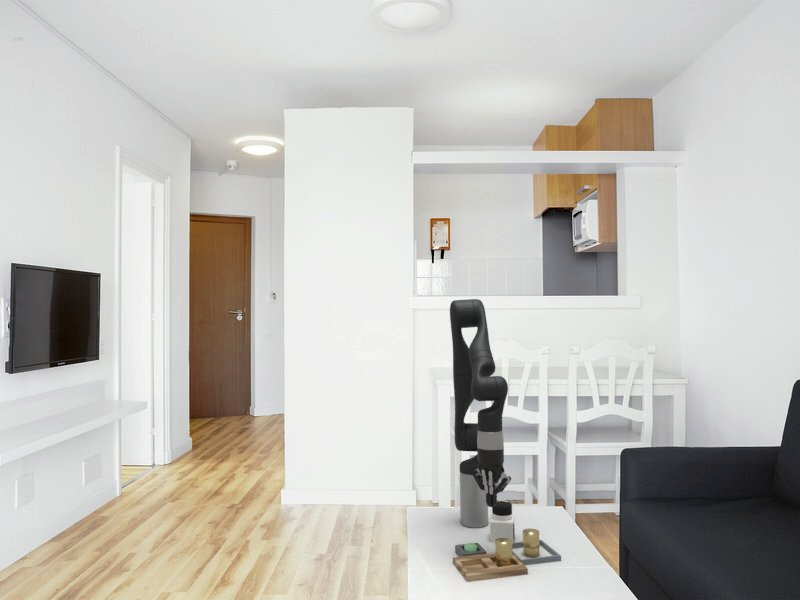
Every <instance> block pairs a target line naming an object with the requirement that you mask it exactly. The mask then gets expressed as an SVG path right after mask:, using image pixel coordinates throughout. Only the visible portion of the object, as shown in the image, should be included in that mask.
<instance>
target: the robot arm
mask: <svg viewBox="0 0 800 600" xmlns="http://www.w3.org/2000/svg"><path fill="white" fill-rule="evenodd" d="M449 306H450V307H449V320H450V329H451V331H450V332H451V340H452V378H453V379H452V380H453V393H454V395H453V397H454V445H455V446H454V447H455V448H456V450H457V451H459V452H477V453H476V454H475V456H473V457H471V458H468V459H465V460H463V461H461V462H460V463H459V502H460V503H459V504H460V505H459V507H460V511H459V512H460V524H461V525H463V526H464V527H468V528H473V529H474V528H475V529H476V528H483V527H486V526H487V525H489V508H492V507H494V506H496V504H497V501H498V494H499V493H502V492H503V491H505V489H506V488H507V486H508V485H509V483H510V482H511V480H512V477H511V475H509V476H508V475H507V474H506V473H505V468H504V462H505V448H504V444H505V443H504V440H505V439H504V432H503V415H504V408H505V403H506V400H507V396H508V391H509V385H508V382H507V380H506V378H505V377H503V376H501V375H494V373H495V372H496V363H495V361H494V357H493V353H492V349H491V345H490V339H489V331H488V330H489V327H488V321H487V315H486V308H485V306H484V304H483V301H482V300H481V299H478V298H471V299H457V300H456V299H455V300H452V301H451V302H450V305H449ZM467 328H468V329H469V328H477V329H476V333H475V336H474V337H473V338H472V340H471V342H470V345H469V346H468V344H467V343H466V340H465V338H464V336H463V330H462V329H467ZM493 375H494V376H493ZM474 400H476V401H478V402H493V403H492V404H491V406H489V407H486V408H482V409H480V410H479V411H478V412H477V423H475V422H474V423H473V422H465V418H466V415H467V412H468V410H469V408H470V406H471V405H472V403H473V402H474Z"/></svg>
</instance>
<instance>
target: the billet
mask: <svg viewBox="0 0 800 600" xmlns="http://www.w3.org/2000/svg"><path fill="white" fill-rule="evenodd" d="M539 540H540V531H539V530H538V529H535V528H525V529H523V530H522V542H523V547H522V551H523V552H522V554H523V556H524V557H526V558H528V559H529V558H537V557H541V555H540V553H541V551H540V547H541V546H540V545H539Z"/></svg>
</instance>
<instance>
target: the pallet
mask: <svg viewBox="0 0 800 600" xmlns="http://www.w3.org/2000/svg"><path fill="white" fill-rule="evenodd" d="M512 557H513V565H510V566H502V567H497V566H496V555H495V552H489V553H487V554H479V555H471V556H462V557H459V556H455V557H452V564H453V565H454V567H455V568H456V569H457V570H458V572H459V573H460V574H461V576H462V577H463V578H464V580H465V581H466V582H467V583H468V582H476V581H484V580H493V579H500V578H501V579H503V578H508V577H516V576H523V575H529V571H528V570H529V568H528V567H527V565H524V564H523V563H522V562H521V561H520V560H518V559H517V558H516V557H515V556H514V555H513V554H512Z"/></svg>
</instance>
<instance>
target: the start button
mask: <svg viewBox="0 0 800 600" xmlns="http://www.w3.org/2000/svg"><path fill="white" fill-rule="evenodd" d="M474 543H475V542H467V543H464V544H465V545H464V551H465V552H473V551H477V545H476V544H474Z"/></svg>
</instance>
